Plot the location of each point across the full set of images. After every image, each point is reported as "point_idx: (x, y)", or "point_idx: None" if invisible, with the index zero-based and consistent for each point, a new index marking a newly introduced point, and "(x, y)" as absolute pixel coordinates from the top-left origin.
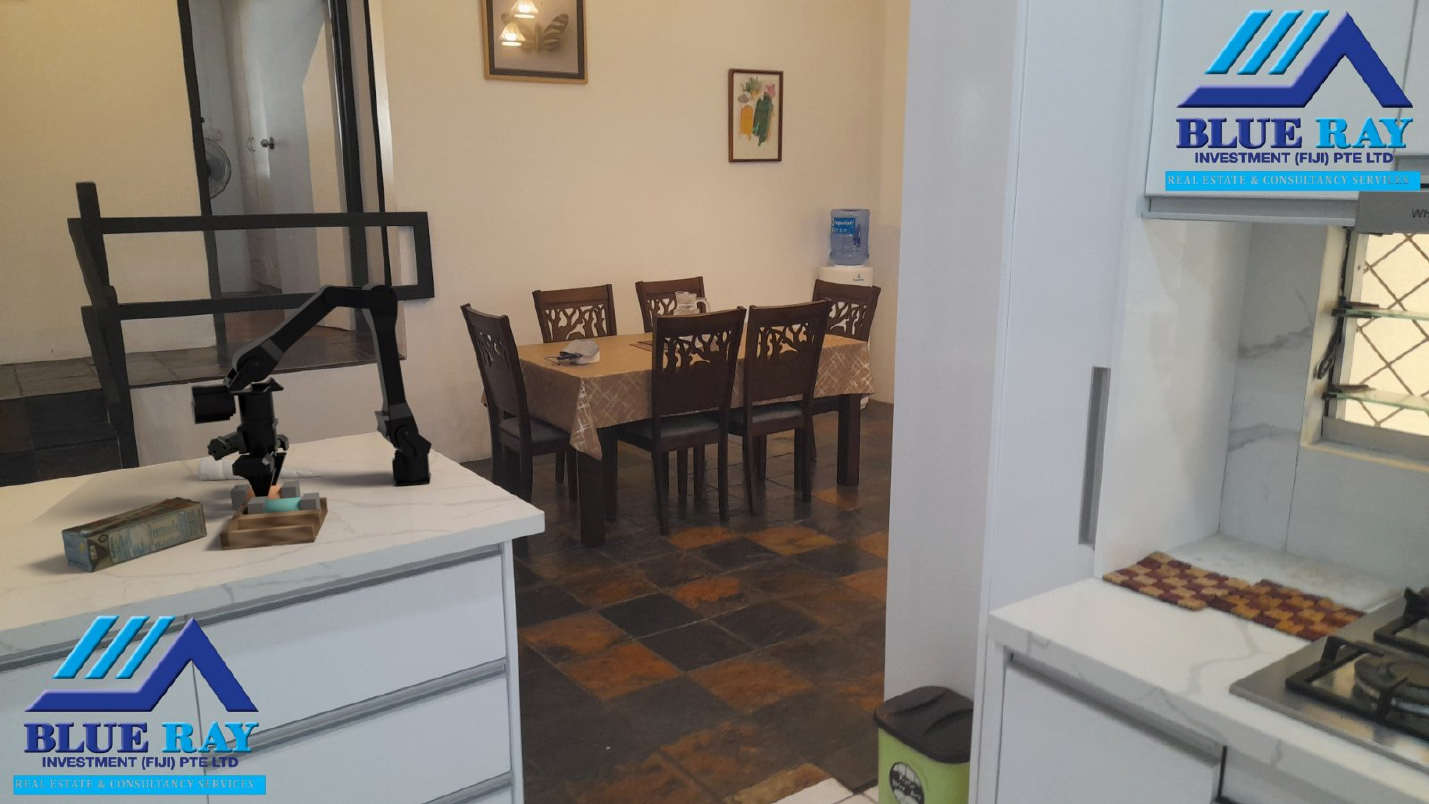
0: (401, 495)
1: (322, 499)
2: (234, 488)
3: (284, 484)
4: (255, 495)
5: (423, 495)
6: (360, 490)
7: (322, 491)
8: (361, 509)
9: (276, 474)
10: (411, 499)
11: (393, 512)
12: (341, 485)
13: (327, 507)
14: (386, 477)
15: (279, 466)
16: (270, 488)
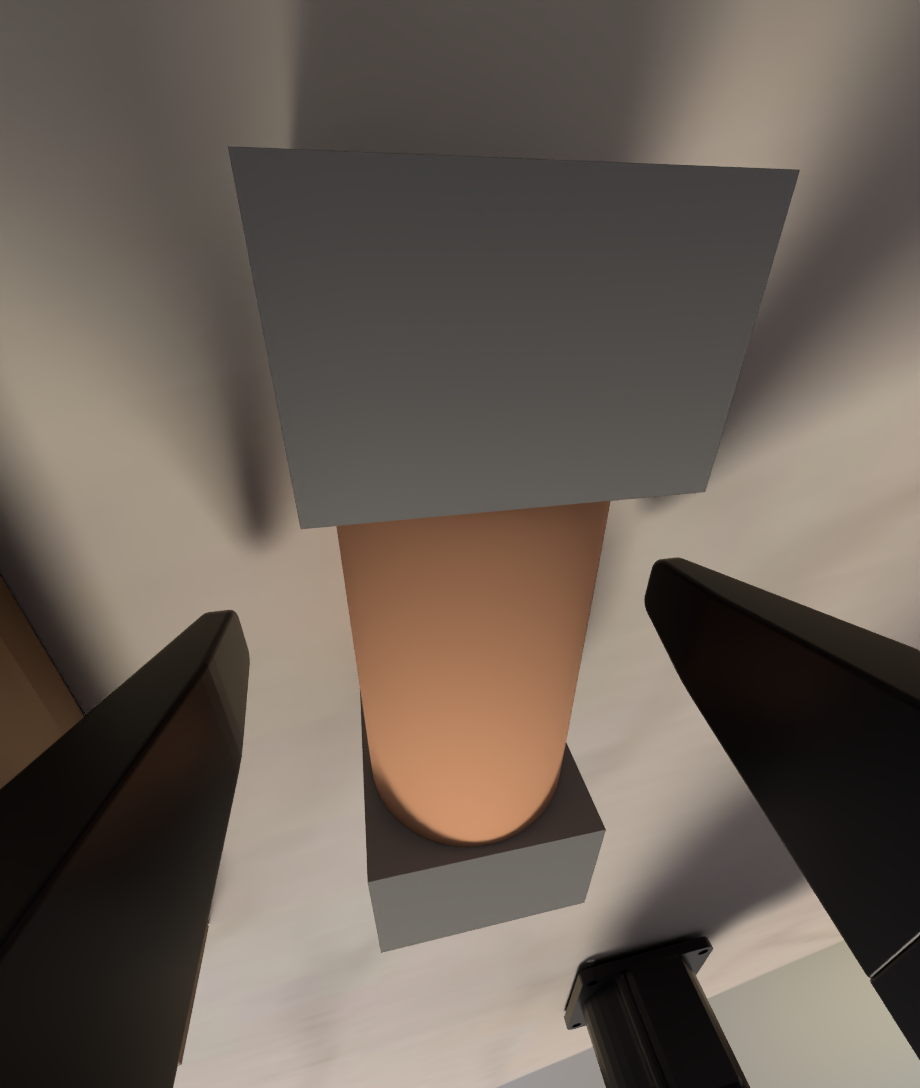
0: (447, 1011)
1: None
2: (515, 217)
3: (495, 863)
4: (91, 714)
5: (425, 1047)
6: (586, 897)
7: (658, 776)
8: (253, 998)
9: (782, 815)
10: (380, 1045)
11: (197, 1074)
12: (722, 813)
13: (200, 962)
14: (737, 901)
15: (880, 963)
16: (434, 767)
